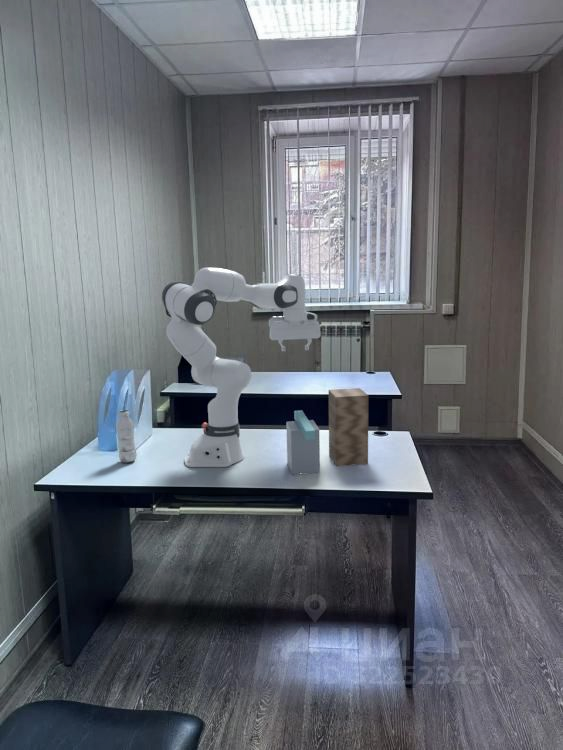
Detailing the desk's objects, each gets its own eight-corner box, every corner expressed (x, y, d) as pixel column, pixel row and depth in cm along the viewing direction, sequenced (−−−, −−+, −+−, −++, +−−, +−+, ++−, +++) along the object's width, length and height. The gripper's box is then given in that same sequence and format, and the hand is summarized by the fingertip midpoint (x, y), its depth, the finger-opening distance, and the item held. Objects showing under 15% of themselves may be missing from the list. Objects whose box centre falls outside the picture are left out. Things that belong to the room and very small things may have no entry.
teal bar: (306, 439, 178) (306, 431, 178) (294, 418, 204) (294, 410, 203) (315, 439, 179) (315, 430, 178) (302, 418, 204) (302, 410, 203)
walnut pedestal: (336, 466, 198) (335, 397, 193) (329, 455, 210) (328, 389, 205) (367, 464, 200) (368, 395, 195) (359, 453, 211) (359, 388, 206)
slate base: (291, 474, 191) (291, 431, 188) (287, 462, 203) (286, 421, 200) (319, 472, 193) (319, 429, 190) (313, 461, 204) (313, 420, 201)
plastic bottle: (140, 461, 209) (136, 410, 205) (124, 466, 204) (120, 414, 200) (131, 457, 213) (127, 408, 209) (115, 462, 208) (111, 411, 205)
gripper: (269, 317, 210) (270, 352, 212) (321, 315, 212) (321, 350, 215) (267, 316, 216) (268, 350, 219) (318, 314, 218) (318, 348, 221)
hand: (295, 350), depth 217 cm, fingers open, 8 cm apart
